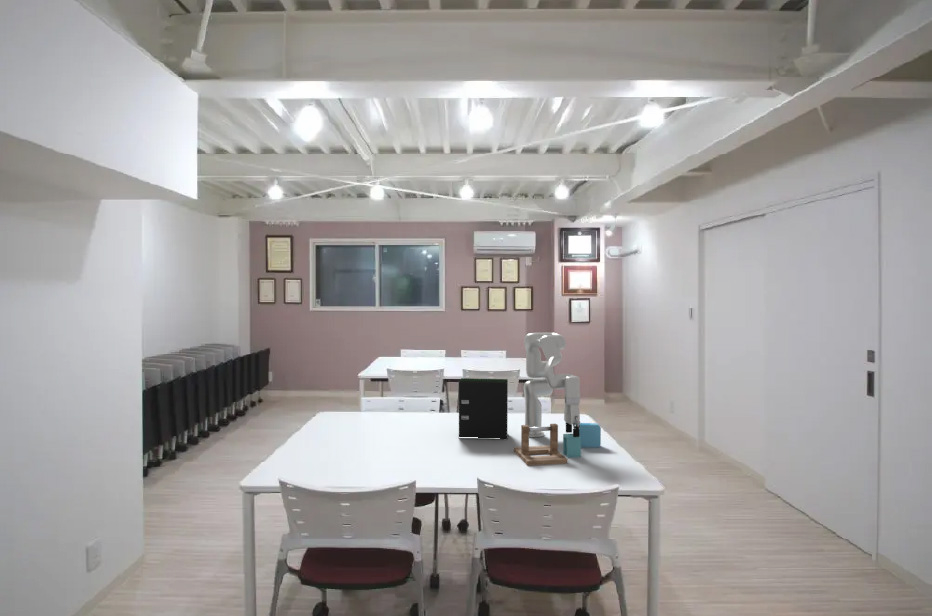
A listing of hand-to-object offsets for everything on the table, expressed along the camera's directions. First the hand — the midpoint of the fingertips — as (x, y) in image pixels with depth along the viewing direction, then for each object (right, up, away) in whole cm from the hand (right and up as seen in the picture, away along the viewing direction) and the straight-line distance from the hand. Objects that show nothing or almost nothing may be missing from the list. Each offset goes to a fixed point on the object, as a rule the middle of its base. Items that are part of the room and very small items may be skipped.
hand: (572, 434), depth 270 cm
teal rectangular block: (0, -11, +1) cm, 11 cm away
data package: (+12, -11, +17) cm, 23 cm away
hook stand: (-17, -11, -2) cm, 20 cm away
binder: (-44, -10, +38) cm, 58 cm away
